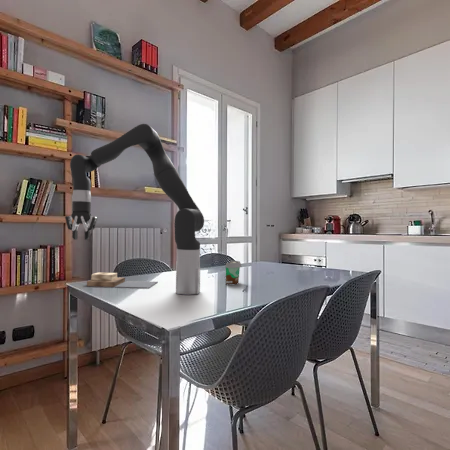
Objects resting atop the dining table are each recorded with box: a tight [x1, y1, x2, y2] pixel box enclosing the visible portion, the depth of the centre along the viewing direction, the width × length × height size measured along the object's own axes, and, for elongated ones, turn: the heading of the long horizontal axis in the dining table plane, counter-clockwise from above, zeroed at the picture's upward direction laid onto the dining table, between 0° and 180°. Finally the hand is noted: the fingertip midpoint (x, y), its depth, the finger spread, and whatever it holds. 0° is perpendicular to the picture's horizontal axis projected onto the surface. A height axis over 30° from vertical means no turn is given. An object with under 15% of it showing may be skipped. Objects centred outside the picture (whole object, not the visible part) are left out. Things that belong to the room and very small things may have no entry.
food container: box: [225, 260, 242, 285], centre depth 153 cm, size 12×6×10 cm, turn 168°
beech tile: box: [90, 272, 118, 281], centre depth 144 cm, size 9×6×2 cm, turn 87°
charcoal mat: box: [114, 280, 159, 289], centre depth 144 cm, size 14×14×1 cm
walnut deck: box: [86, 276, 126, 288], centre depth 144 cm, size 12×12×2 cm
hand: (80, 239), depth 145 cm, fingers open, 4 cm apart
